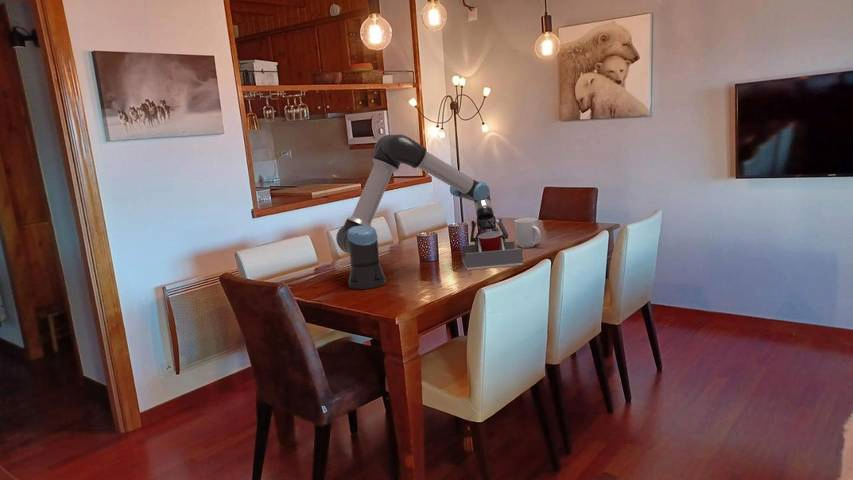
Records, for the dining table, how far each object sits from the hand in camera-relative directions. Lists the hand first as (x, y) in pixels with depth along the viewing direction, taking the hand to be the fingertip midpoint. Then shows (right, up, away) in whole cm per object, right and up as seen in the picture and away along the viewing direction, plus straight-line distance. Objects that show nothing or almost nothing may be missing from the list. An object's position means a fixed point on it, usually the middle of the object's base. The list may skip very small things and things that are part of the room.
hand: (492, 252), depth 254 cm
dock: (0, -4, +4) cm, 6 cm away
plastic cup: (0, -4, +4) cm, 5 cm away
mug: (+21, +2, +29) cm, 36 cm away
